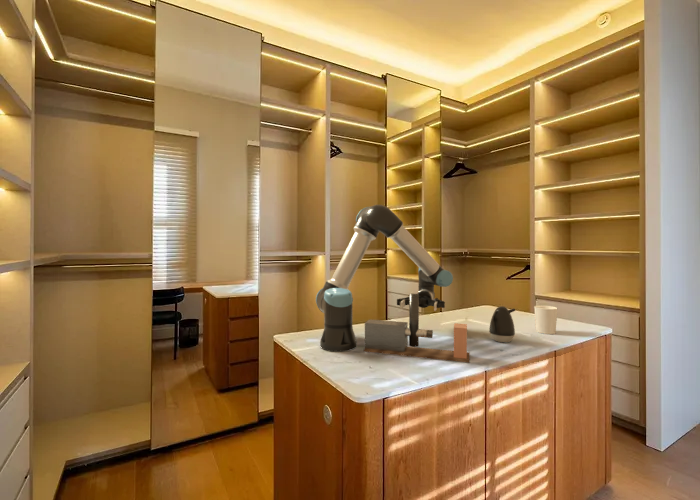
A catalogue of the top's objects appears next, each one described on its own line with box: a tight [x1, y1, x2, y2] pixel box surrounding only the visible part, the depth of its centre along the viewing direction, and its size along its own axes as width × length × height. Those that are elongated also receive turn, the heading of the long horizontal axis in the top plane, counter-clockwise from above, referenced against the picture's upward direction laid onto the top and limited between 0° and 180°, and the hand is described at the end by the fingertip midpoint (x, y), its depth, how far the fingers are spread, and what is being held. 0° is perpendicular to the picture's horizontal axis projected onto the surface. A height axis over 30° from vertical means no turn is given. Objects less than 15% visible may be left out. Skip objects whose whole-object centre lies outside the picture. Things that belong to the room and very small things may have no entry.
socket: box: [453, 322, 468, 359], centre depth 130 cm, size 4×7×11 cm, turn 161°
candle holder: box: [533, 305, 558, 335], centre depth 167 cm, size 10×10×12 cm
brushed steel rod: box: [405, 293, 434, 347], centre depth 137 cm, size 24×4×20 cm, turn 71°
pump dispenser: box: [489, 305, 516, 343], centre depth 152 cm, size 10×10×15 cm
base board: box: [363, 346, 471, 364], centre depth 135 cm, size 40×9×1 cm, turn 71°
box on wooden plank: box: [364, 319, 409, 352], centre depth 139 cm, size 16×6×10 cm, turn 71°
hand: (417, 306), depth 142 cm, fingers open, 13 cm apart
